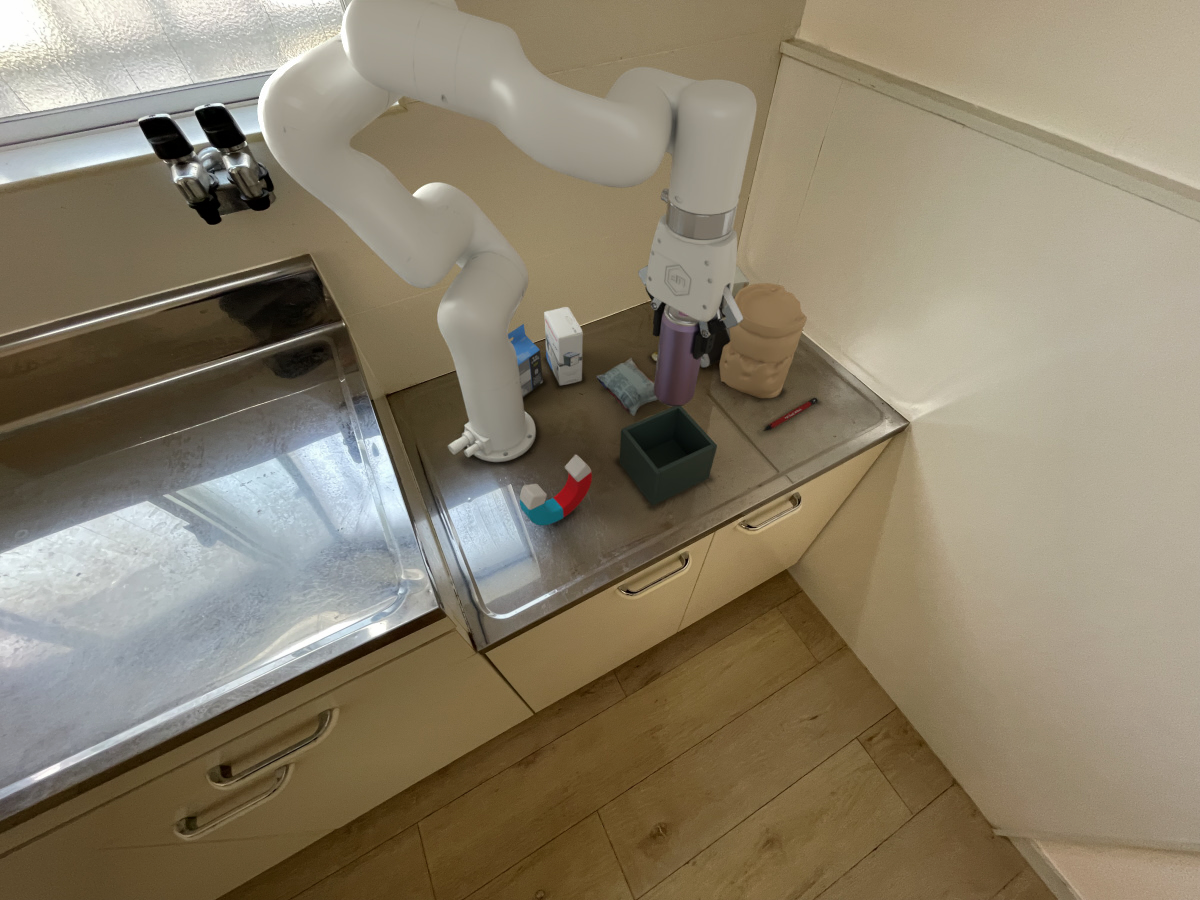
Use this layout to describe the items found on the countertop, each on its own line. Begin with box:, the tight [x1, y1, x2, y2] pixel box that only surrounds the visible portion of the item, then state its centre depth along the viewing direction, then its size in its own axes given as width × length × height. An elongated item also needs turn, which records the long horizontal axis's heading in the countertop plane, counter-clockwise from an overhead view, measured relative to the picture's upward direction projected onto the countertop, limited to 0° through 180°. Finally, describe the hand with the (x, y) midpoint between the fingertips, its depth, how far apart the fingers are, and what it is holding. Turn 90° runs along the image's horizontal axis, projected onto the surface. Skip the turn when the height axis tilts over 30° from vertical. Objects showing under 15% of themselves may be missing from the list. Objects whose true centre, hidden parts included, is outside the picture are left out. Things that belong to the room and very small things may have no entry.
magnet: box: [519, 454, 593, 527], centre depth 87 cm, size 12×3×10 cm, turn 129°
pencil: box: [762, 397, 819, 432], centre depth 104 cm, size 1×14×1 cm, turn 124°
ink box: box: [543, 306, 584, 386], centre depth 108 cm, size 9×5×12 cm, turn 22°
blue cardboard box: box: [508, 323, 544, 398], centre depth 103 cm, size 9×4×12 cm, turn 140°
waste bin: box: [618, 405, 718, 507], centre depth 93 cm, size 11×10×9 cm
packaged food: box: [595, 357, 659, 417], centre depth 106 cm, size 9×12×5 cm
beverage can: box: [653, 304, 701, 407], centre depth 78 cm, size 6×6×15 cm
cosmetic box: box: [732, 265, 750, 298], centre depth 117 cm, size 6×4×12 cm
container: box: [718, 282, 808, 399], centre depth 103 cm, size 13×13×18 cm
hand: (681, 341), depth 76 cm, fingers closed on beverage can, 6 cm apart
